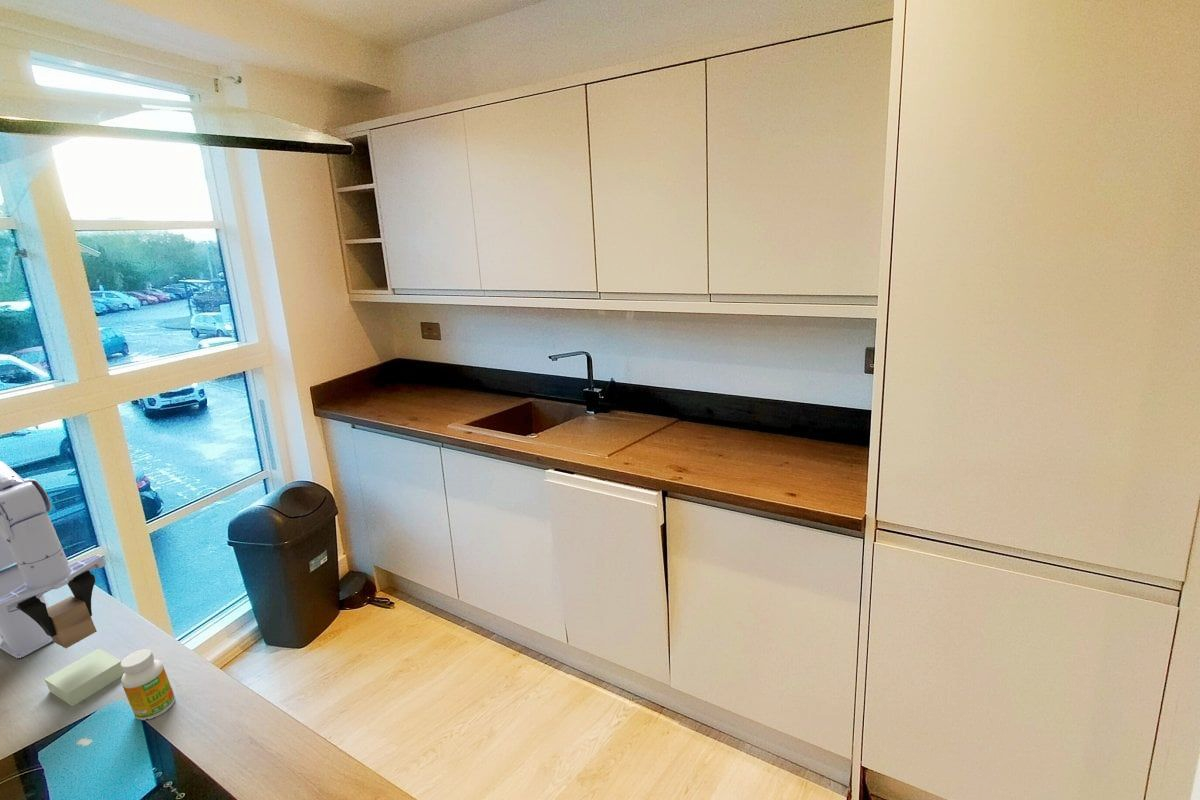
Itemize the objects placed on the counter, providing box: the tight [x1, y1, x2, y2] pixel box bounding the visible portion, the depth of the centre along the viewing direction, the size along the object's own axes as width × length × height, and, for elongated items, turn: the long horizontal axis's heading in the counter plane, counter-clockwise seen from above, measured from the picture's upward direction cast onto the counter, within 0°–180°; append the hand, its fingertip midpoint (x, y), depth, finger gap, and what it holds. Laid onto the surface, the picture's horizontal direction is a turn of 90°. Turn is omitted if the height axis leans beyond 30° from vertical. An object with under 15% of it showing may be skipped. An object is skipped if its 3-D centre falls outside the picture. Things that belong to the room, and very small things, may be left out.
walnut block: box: [47, 595, 98, 649], centre depth 105 cm, size 4×4×6 cm
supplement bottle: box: [120, 648, 176, 721], centre depth 97 cm, size 5×5×10 cm
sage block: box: [44, 648, 124, 707], centre depth 106 cm, size 8×8×3 cm
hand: (69, 624), depth 105 cm, fingers closed on walnut block, 4 cm apart
